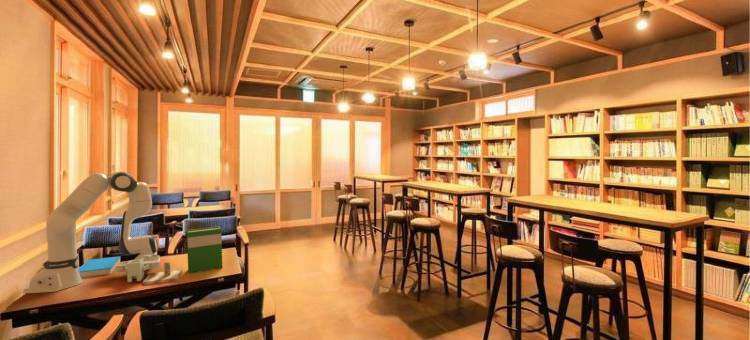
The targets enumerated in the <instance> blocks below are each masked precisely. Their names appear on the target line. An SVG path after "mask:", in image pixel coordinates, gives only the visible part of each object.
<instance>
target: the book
mask: <svg viewBox="0 0 750 340" xmlns="http://www.w3.org/2000/svg"><path fill="white" fill-rule="evenodd" d="M120 263H121V255H120V256H112V257H111V256H110V257H102V258H94V259H93V258H92V259H88V260H86V262H84V263H83V264H82V265H81V266H80V267H78V270H79V274H80V277H81V279H83V278H89V277H95V276H97V275H98V276H104V275H111V274H112V273H113V271H114V270H115V269H116V267H117V265H119V264H120Z"/></svg>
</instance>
